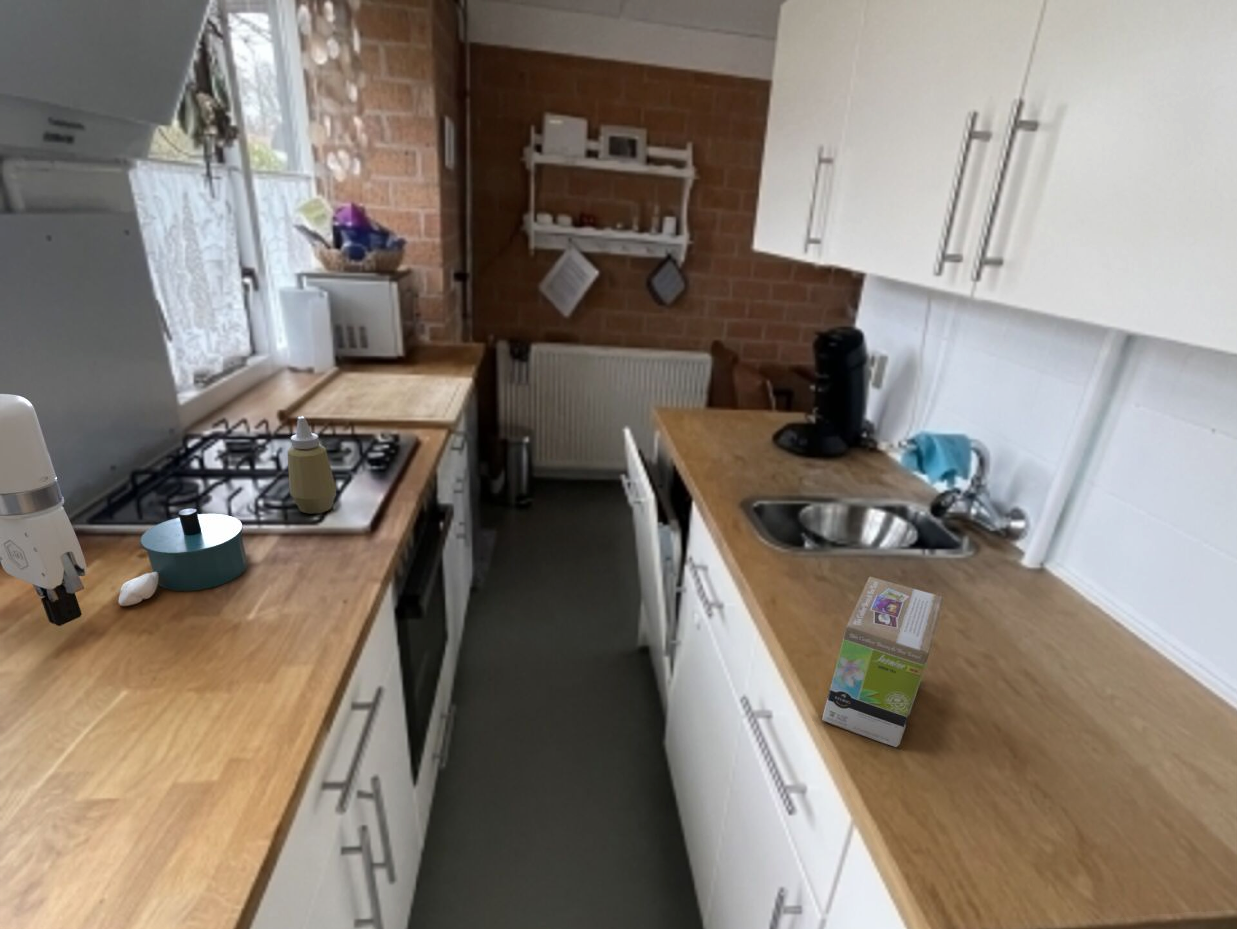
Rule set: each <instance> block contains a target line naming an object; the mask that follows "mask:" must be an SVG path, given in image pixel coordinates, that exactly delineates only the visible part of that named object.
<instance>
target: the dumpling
mask: <svg viewBox="0 0 1237 929" xmlns="http://www.w3.org/2000/svg"><path fill="white" fill-rule="evenodd" d="M158 585H159V584H158V573H157V572H153V571H152V572H146V573H144V574H141V575H140V576H137V577H135V578H132V579H130V580H128V581H126V582H124V583H123V584H122V586H121V588H120V589H119V596H118V601H117V602H118V605H119V606H121V607H127V606H133V605H136V604H139V603H140V602H142V601H143V600H147V599H150V598H151V597H153V595H154V594H155V592H156V590H157V587H158Z"/></svg>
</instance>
